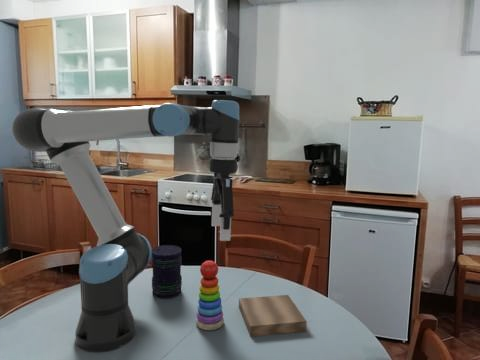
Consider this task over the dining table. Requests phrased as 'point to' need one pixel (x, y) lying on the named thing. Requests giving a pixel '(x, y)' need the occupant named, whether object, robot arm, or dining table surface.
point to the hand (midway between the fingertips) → (220, 232)
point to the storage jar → (166, 271)
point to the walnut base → (271, 315)
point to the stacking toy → (209, 298)
